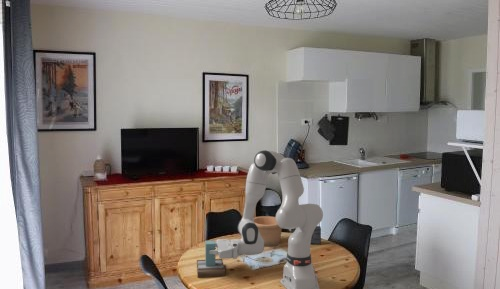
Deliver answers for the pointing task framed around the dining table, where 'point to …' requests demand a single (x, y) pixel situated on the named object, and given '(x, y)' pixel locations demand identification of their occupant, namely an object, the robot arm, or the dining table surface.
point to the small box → (316, 236)
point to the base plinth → (210, 269)
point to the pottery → (268, 230)
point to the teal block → (209, 257)
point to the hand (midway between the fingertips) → (208, 248)
